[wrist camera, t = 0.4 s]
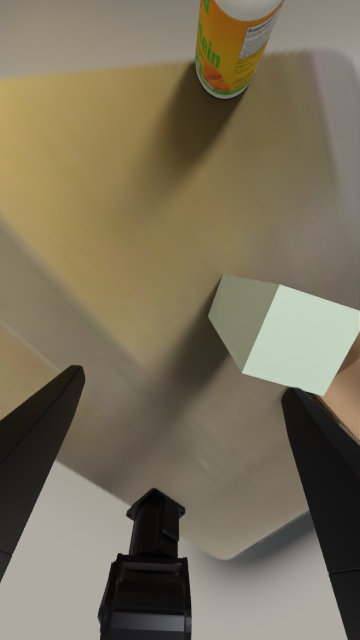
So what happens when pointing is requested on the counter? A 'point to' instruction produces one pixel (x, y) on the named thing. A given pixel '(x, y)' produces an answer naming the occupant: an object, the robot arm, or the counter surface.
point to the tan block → (346, 391)
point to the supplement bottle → (232, 42)
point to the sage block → (283, 332)
